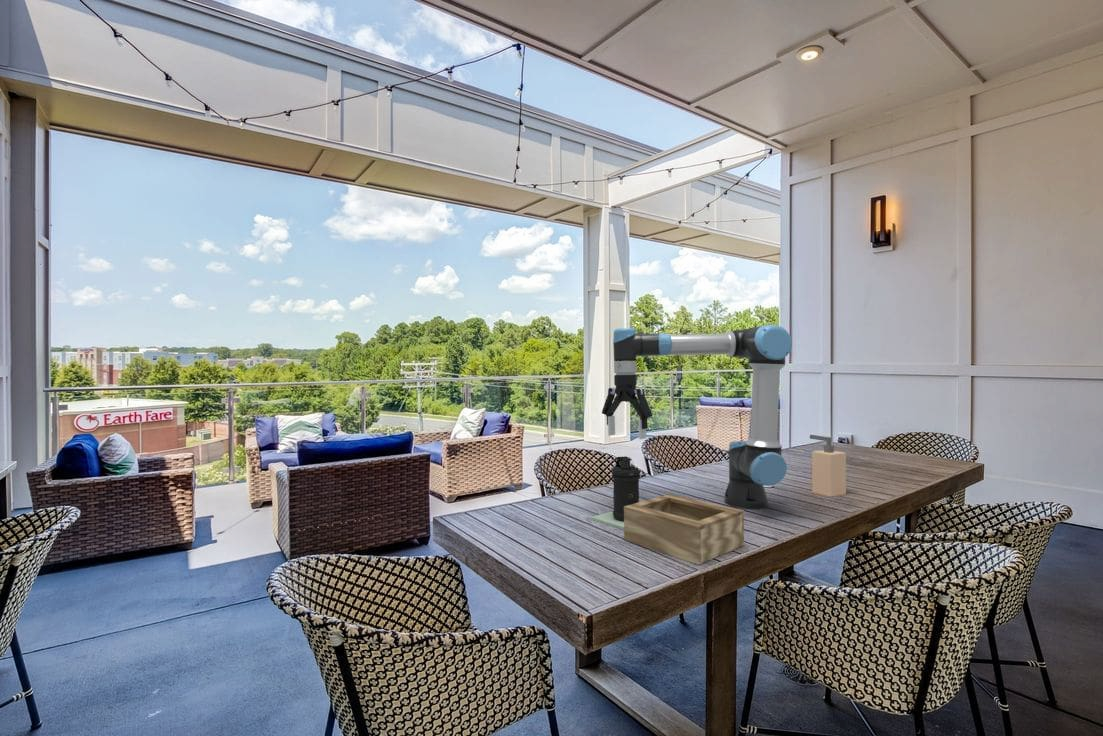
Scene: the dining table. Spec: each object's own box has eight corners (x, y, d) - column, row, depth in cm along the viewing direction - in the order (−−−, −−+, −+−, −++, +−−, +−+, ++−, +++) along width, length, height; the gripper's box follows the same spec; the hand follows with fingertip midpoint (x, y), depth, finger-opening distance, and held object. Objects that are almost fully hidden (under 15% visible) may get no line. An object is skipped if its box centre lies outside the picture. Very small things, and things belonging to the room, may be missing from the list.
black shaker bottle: (618, 523, 173) (617, 461, 172) (606, 514, 183) (606, 455, 183) (644, 521, 175) (644, 460, 175) (631, 511, 186) (631, 454, 185)
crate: (670, 524, 174) (669, 493, 173) (743, 545, 154) (743, 510, 154) (624, 539, 159) (623, 506, 159) (698, 564, 140) (698, 526, 139)
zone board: (623, 510, 190) (623, 508, 190) (659, 520, 178) (659, 518, 178) (591, 519, 180) (591, 517, 180) (627, 530, 168) (627, 528, 168)
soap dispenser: (846, 494, 209) (846, 438, 209) (830, 496, 206) (830, 439, 205) (818, 487, 221) (818, 434, 220) (803, 489, 217) (803, 435, 217)
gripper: (591, 374, 188) (592, 434, 188) (647, 374, 169) (649, 441, 169) (605, 373, 193) (607, 432, 193) (662, 373, 174) (663, 438, 174)
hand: (626, 436), depth 181 cm, fingers open, 13 cm apart
